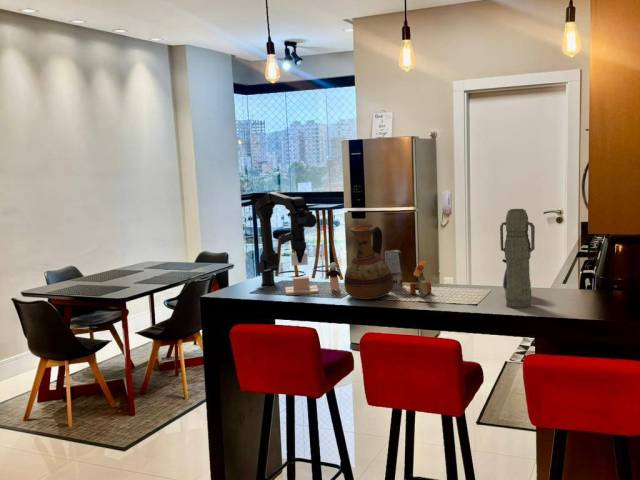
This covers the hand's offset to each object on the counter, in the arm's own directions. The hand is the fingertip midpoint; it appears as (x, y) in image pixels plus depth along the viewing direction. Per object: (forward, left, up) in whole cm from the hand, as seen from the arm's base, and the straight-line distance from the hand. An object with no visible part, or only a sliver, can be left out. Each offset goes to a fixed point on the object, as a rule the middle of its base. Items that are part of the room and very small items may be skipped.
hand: (299, 261), depth 272 cm
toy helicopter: (+28, +47, -13) cm, 57 cm away
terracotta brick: (0, 0, -12) cm, 12 cm away
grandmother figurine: (+5, +14, -13) cm, 20 cm away
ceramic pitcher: (+21, +27, -13) cm, 37 cm away
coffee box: (+7, +40, -13) cm, 43 cm away
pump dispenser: (+38, +82, -13) cm, 91 cm away
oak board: (0, 0, -13) cm, 13 cm away
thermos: (+53, +77, -13) cm, 94 cm away
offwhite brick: (0, 0, -1) cm, 1 cm away
